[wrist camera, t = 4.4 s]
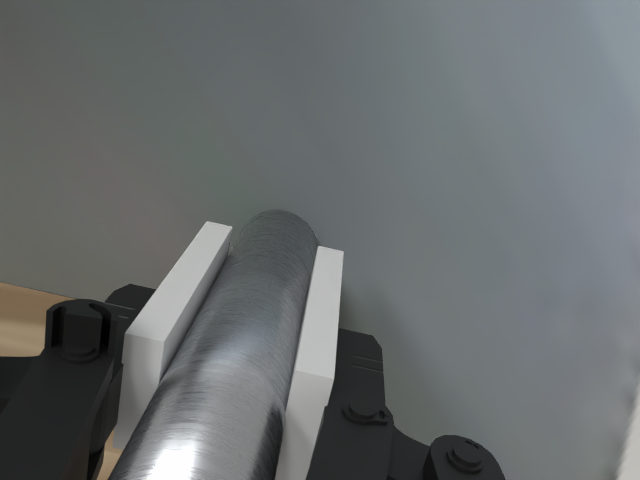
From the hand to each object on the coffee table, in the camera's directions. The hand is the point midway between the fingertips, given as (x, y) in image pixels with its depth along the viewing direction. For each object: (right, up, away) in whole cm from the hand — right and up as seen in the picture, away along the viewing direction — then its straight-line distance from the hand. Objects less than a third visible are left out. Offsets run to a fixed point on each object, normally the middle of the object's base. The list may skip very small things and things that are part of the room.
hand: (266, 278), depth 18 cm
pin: (0, +1, +2) cm, 3 cm away
